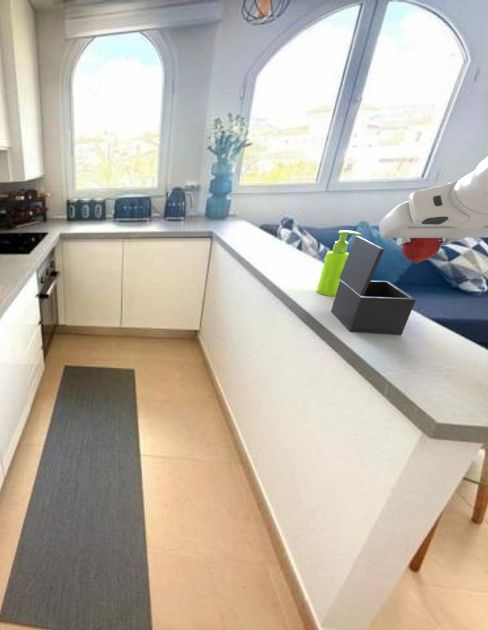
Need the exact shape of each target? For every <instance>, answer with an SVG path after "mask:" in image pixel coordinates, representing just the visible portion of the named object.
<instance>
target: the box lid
mask: <svg viewBox="0 0 488 630" xmlns="http://www.w3.org/2000/svg"><path fill="white" fill-rule="evenodd" d="M384 251H385V248H383V247H381V246H379V245H378V244H375V243H374V242H372V241H370V240H368V239H366V238H364V237H362V236H361V235H359V236H356V235H355V238H354V240H353V242H352V245H351V247H350V249H349V252H348V253H349V255H348V257H347V260H346V262H345V265H344V267H343V270H342V272H341V275H340V277H339V278H340V279H341V280H342V281H343V282H344V283H346V284H347V285H348V286H349V287H350V288H352V289H353V290H354V291H355V292H356V293H358V294H359V295H360V296H364V294H365V292H366V289H367V287H368V285H369V283H370V281H372V278H373V276H374V274H375V272H376V270H377V267H378V265H379V262H380V261H381V258H382V256H383V254H384Z"/></svg>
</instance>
